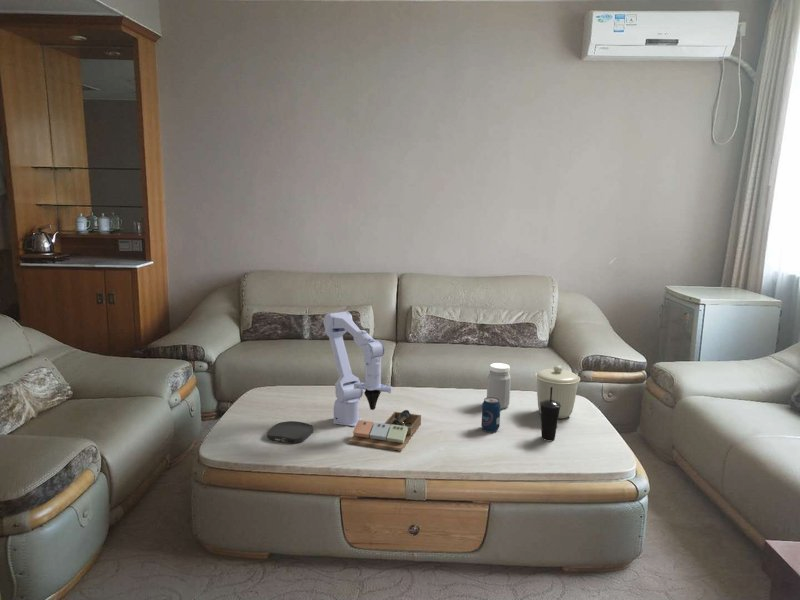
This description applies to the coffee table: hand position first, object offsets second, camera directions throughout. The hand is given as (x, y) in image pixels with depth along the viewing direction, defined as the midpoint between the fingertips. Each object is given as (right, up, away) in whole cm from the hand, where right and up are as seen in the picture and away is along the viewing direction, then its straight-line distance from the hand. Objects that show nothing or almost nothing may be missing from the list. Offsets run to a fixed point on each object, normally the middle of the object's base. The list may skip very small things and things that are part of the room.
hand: (372, 408), depth 223 cm
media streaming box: (-31, -10, +1) cm, 33 cm away
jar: (+52, -5, +35) cm, 63 cm away
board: (+5, -10, +3) cm, 12 cm away
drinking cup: (+66, -12, +2) cm, 67 cm away
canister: (+75, -7, +27) cm, 80 cm away
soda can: (+45, -10, +10) cm, 47 cm away
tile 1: (-3, -7, -2) cm, 8 cm away
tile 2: (+3, -8, -4) cm, 9 cm away
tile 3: (+9, -9, -5) cm, 14 cm away
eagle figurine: (+10, -9, +10) cm, 17 cm away
